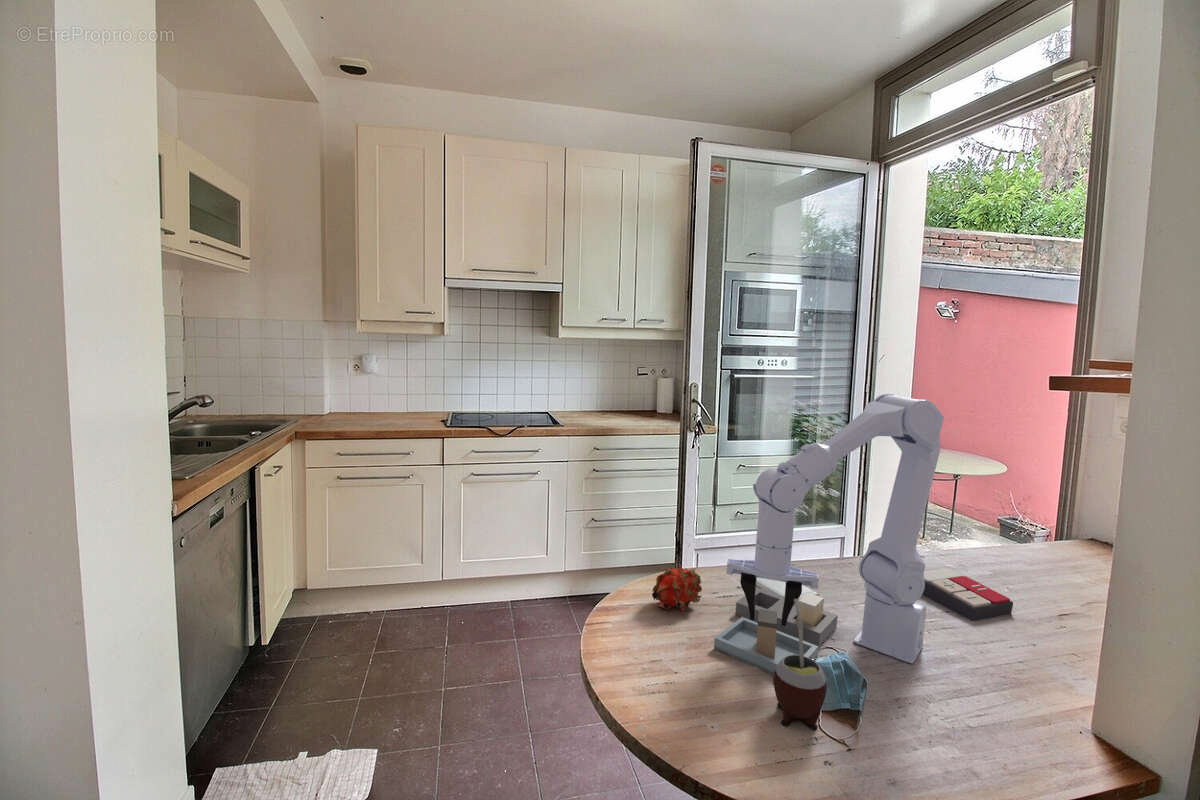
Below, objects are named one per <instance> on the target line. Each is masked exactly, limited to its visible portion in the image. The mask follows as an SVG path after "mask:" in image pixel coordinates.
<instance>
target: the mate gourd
mask: <svg viewBox="0 0 1200 800" xmlns="http://www.w3.org/2000/svg"><path fill="white" fill-rule="evenodd" d="M794 603H795V607H796V611H797V617H798V621H797V624H798V625H797V626H798V630H799V655H788V656H786V657H784V658H783V659H781V660H780V662H779V663H778V665H777V667H776V670H775V673H774V675H773V677H772V678H773V679H772V684H773V690H774V693H775V697H776V700H777V703H776V707H777V708H779V710H781V711H782V715H783V716H782V717H783V720H781V721H780V722H781V723H780V724H781V726H783V727H784V728H787V727H789V726H790V725H792V724H794V723H796V722H799V723H801V724H802V725H803V726H805V727H807V728H808V729H810V730H812V731H813V732H815V731H817V730H818V725H817V724H816V723H817V722H818V720H819V717H820V714H821V712H822V711H821V710H822V707H823V705H824V702H825V698H826V696H827V690H828V685H827V677H826V676H825V673H824V670H823V668H822V667H821V665H820V664H818V663H817V662H816V660H815V661H814V660H812V659H810V658H808V657H805V656H803V633H802V628H803V621H802V618H801V613H800V608H799V604H798V600H797V599H794Z"/></svg>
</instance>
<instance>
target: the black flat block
mask: <svg viewBox="0 0 1200 800" xmlns="http://www.w3.org/2000/svg"><path fill="white" fill-rule="evenodd" d="M924 581H925V588H924V591H923V594H922V595H921V596H923V597H925V598H926V597H927V598H929V599H930V600H932V601H934V602H935V603H937V604H939V606H940V605H941V606H942V607H944V608H946V609H948V610H950V611H952V612H954V613H955V614H958V615H959V616H960V617H963V618H965V619H967V620H969V621H971V622H976V621H982V620H988V619H992V618H993V619H994V618H998V617H1003V616H1004V617H1005V616H1009V615H1012V612H1013V606H1014V602H1013V601H1012V600H1011V598H1009V597H1007V596H1006V595H1004V594H1002V593H1000V592H997V591H995V590H994V589H991V588H990V587H988V586H986V585H984V584H982V583H980V582H978V581H976V580H974V579H972V578H971V577H968V576H967V575H963V574H961V573H959V572H956V571H954V570H952V569H951V568H938V569H932V570H924Z"/></svg>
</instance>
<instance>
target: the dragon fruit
mask: <svg viewBox="0 0 1200 800" xmlns="http://www.w3.org/2000/svg"><path fill="white" fill-rule="evenodd" d="M655 581H656V583H655V585H654V586H653V588H652V591H651V592H652V594H651V596H652V598H653V601H656V600H657V601H659V602H658V603H657V607H658V608H659V609H660V608H663V609H665V610H667V609H670V608H673V607H675V608H677V609H679V610H680V611H681V612H684V611H685V610H687V609H688V608H689V606H690V604H691V602H692V603H695V604H696V603H699V602H700V599H701V598H702V594H700V595H699V593H701V592H702V590H703V587H702V586H701V584H702V579H701V575H699V574H698V573H697V572H696V570H695V569H693V568H689V569H687V568H683V567H682V565H680V564H679V565H677V568H674V567H668V568H667V569H666V570H665V571H664V572H662V573H661V574H659V575H658V576H657V577H656V578H655Z"/></svg>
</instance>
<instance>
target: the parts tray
mask: <svg viewBox="0 0 1200 800" xmlns="http://www.w3.org/2000/svg"><path fill="white" fill-rule="evenodd" d="M757 627H758V623H757V622H754V621H751V620H749V619H746V618H744V617H740V618H738V619H737V620H735V621H734V622H733V623H732V624H731V625H729V626H728V627H726V628H725V629H724V630H723V631H722V632H720V633H719V634H717V636H715V637H714V642H713V643H714V644H713V649H714V650H716V651H719V652H720V653H722V654H725V655H727V656H729V657H732V658H734V659H737V660H739V661H740V662H743V663H746V664H747V665H750V666H752V667H755V668H757V669H759V670H760V671H761V670H762V671H763V672H766V673H768V674H770V675H773V676H774V673H775V670H776V667H777V665H778V663H779V662H780V660H781V659H783V658H784V657H786V656H788V655H799V639H798V638H795V637H793V636H790V635H788V634H785V633H782V632H780V631H777V630H776V646H775V659H774V658H769V657H766V656H763V655H761V654H758V653H756V646H757ZM818 653H819V647H818V646H816V645H814V644H811V643H808V642H806V641H803V656H805V657H808V658H810V659H814V658H816V659H818Z"/></svg>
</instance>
